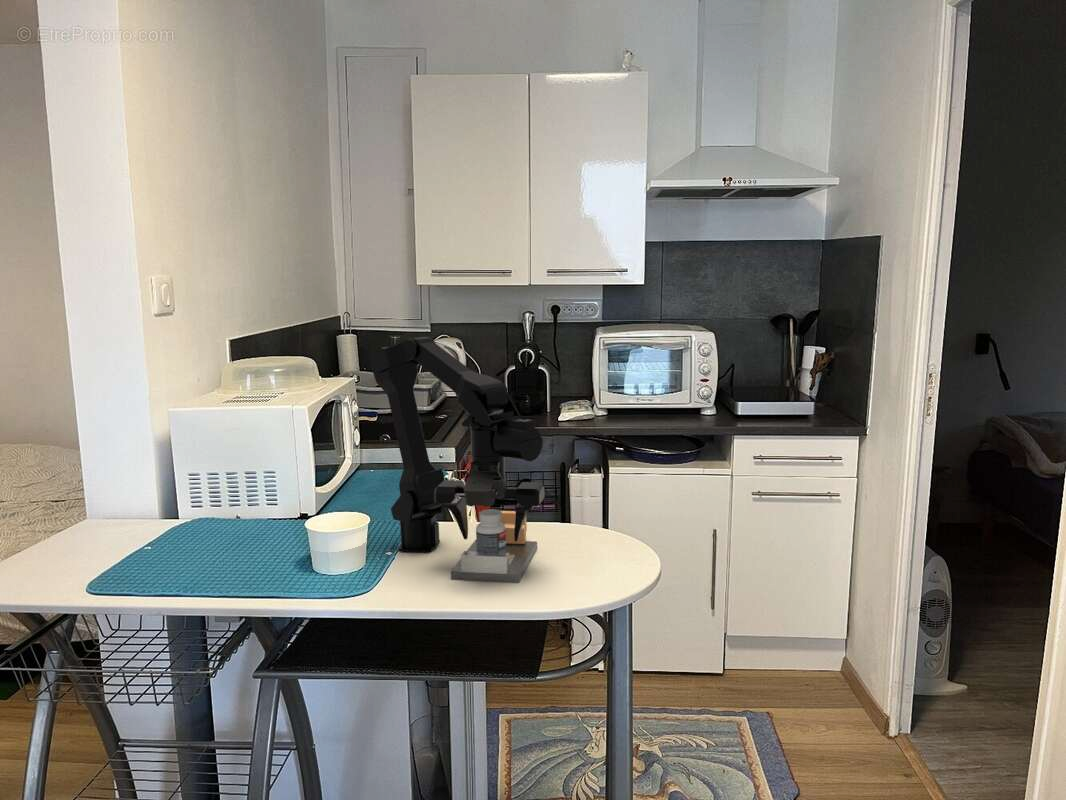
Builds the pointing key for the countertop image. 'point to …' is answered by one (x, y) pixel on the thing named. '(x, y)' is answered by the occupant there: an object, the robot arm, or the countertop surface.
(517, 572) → the silver frame
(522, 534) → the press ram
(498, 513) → the pill bottle
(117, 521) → the countertop surface
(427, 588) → the countertop surface
